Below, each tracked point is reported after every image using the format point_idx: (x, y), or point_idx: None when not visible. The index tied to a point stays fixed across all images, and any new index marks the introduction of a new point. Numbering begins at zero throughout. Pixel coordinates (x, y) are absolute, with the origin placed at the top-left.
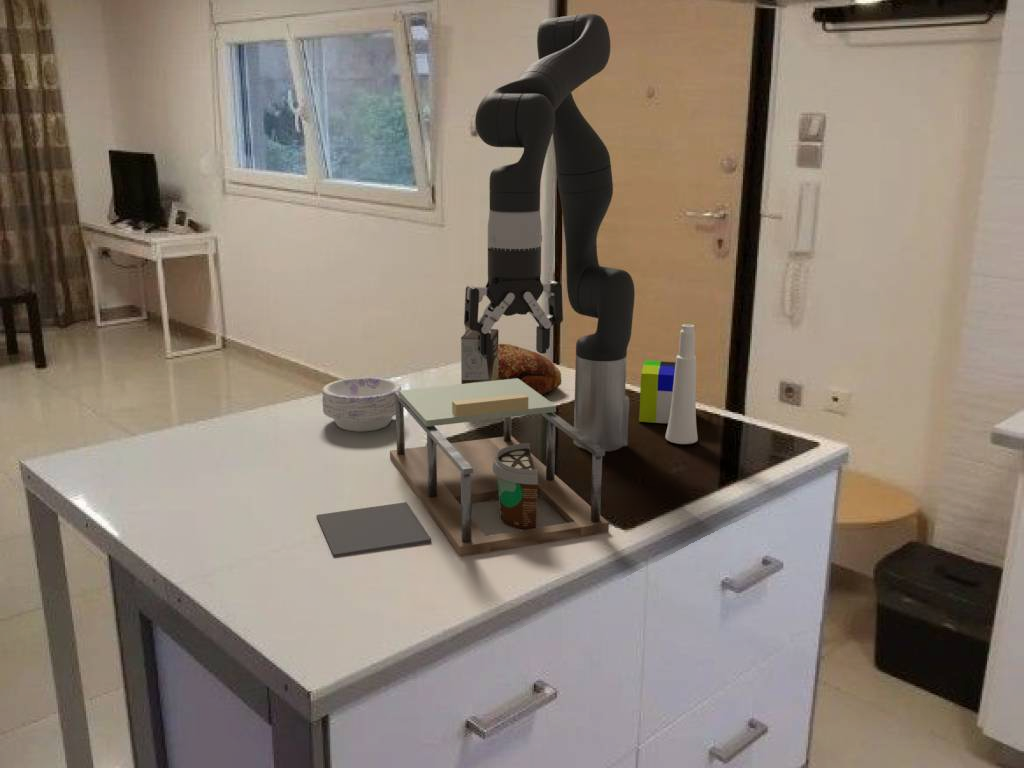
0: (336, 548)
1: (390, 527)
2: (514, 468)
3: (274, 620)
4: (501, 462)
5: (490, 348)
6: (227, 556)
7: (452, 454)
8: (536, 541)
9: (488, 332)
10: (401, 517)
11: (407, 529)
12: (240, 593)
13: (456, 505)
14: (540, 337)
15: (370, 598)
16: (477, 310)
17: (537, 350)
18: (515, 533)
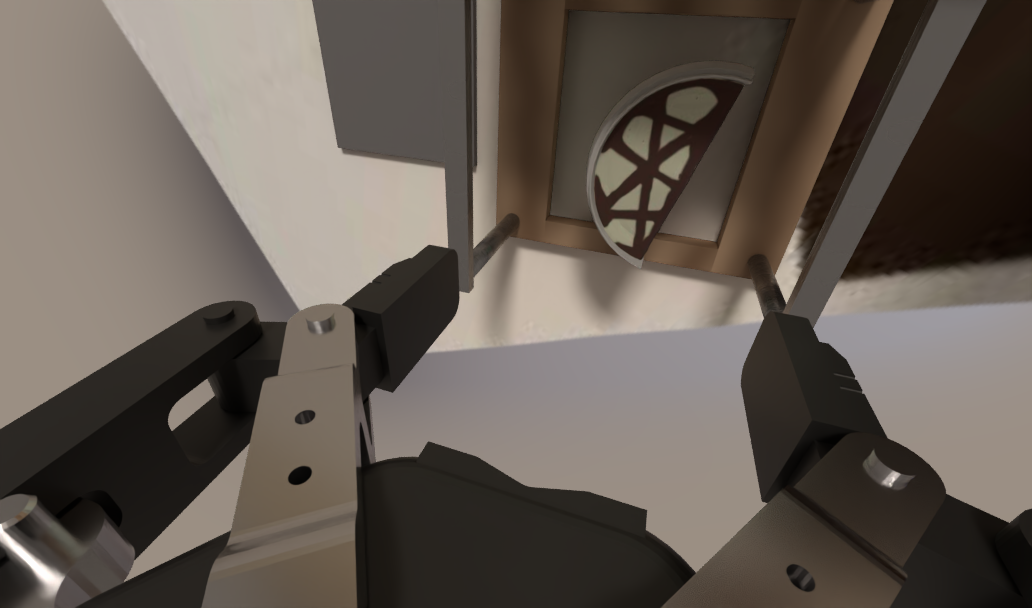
0: (341, 129)
1: (422, 88)
2: (601, 232)
3: (292, 256)
4: (611, 151)
5: (433, 339)
6: (211, 67)
7: (451, 205)
8: None
9: (378, 382)
10: None
11: None
12: (251, 184)
13: (550, 65)
14: (763, 426)
15: (380, 266)
16: (183, 503)
17: (765, 324)
18: (593, 237)
